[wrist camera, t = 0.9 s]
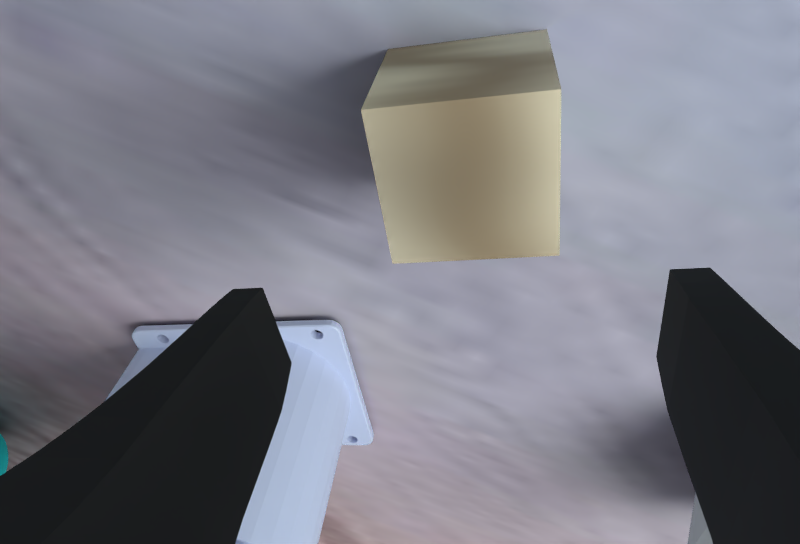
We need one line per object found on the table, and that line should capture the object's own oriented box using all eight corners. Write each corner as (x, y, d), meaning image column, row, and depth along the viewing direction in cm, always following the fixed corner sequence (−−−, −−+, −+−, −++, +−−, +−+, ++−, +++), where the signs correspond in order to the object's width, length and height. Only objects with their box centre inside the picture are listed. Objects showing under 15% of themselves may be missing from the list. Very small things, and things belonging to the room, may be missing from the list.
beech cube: (410, 183, 20) (392, 263, 16) (388, 48, 17) (360, 109, 13) (547, 172, 19) (559, 255, 15) (546, 28, 16) (561, 89, 13)
